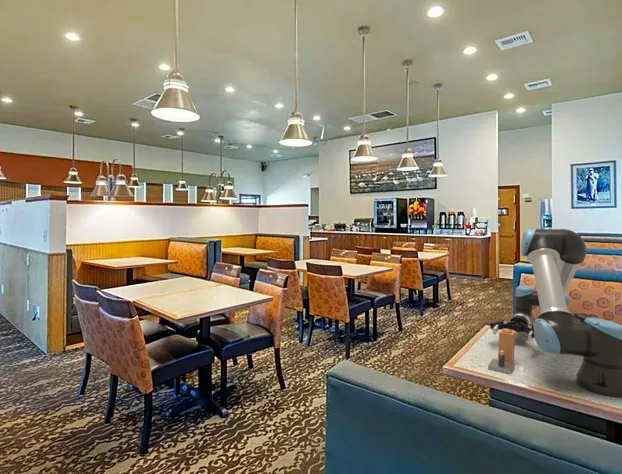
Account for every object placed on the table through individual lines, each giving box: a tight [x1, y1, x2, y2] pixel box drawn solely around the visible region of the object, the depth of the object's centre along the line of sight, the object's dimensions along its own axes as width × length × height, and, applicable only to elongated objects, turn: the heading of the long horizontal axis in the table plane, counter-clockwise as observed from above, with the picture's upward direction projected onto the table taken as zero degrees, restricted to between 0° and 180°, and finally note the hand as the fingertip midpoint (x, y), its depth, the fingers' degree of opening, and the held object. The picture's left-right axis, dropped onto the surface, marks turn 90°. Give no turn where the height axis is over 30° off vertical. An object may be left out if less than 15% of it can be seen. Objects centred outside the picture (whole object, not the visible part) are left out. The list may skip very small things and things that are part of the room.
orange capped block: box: [497, 329, 516, 363], centre depth 155 cm, size 5×5×13 cm
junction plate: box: [487, 349, 516, 375], centre depth 148 cm, size 8×8×7 cm
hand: (511, 334), depth 163 cm, fingers open, 13 cm apart
